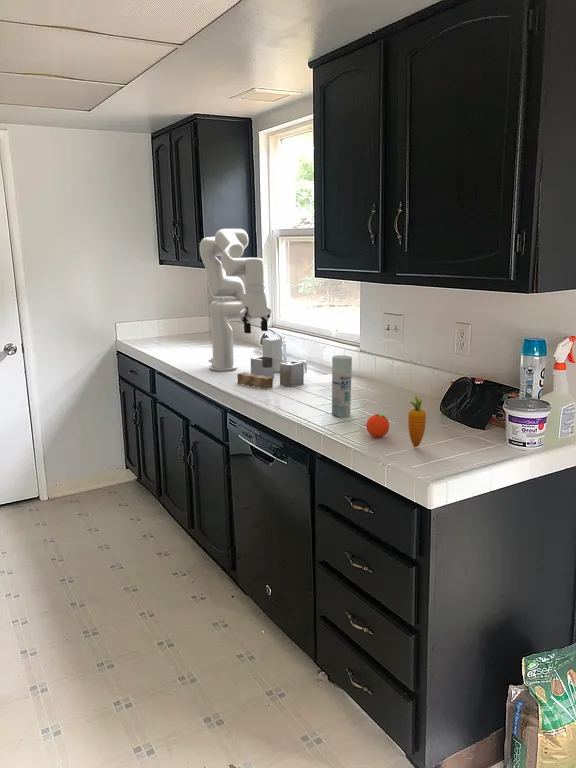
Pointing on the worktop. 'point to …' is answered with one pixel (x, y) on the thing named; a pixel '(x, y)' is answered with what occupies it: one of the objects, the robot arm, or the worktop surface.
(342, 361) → the spray paint can
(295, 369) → the brackets
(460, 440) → the worktop surface
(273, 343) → the skincare box
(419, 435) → the carrot
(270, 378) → the walnut rail
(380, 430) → the clementine
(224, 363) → the robot arm
